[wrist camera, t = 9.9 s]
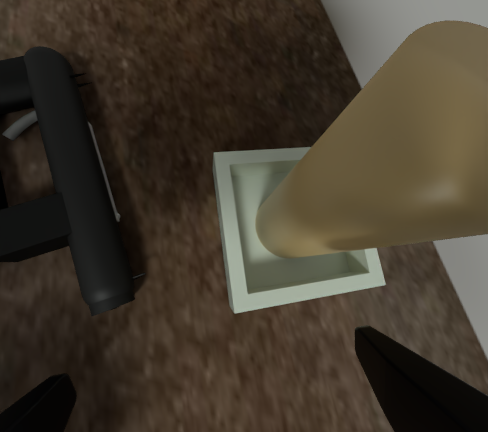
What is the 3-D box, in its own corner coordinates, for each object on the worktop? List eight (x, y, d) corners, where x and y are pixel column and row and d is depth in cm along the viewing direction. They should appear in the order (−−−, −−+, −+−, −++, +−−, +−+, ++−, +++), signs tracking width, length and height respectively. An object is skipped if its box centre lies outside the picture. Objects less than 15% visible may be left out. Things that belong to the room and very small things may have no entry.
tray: (358, 282, 19) (385, 284, 17) (229, 305, 17) (234, 313, 14) (330, 161, 22) (350, 144, 19) (212, 169, 19) (213, 152, 17)
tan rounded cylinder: (324, 253, 19) (626, 214, 5) (260, 262, 18) (434, 243, 4) (311, 190, 20) (534, 26, 6) (250, 196, 19) (364, 13, 5)
